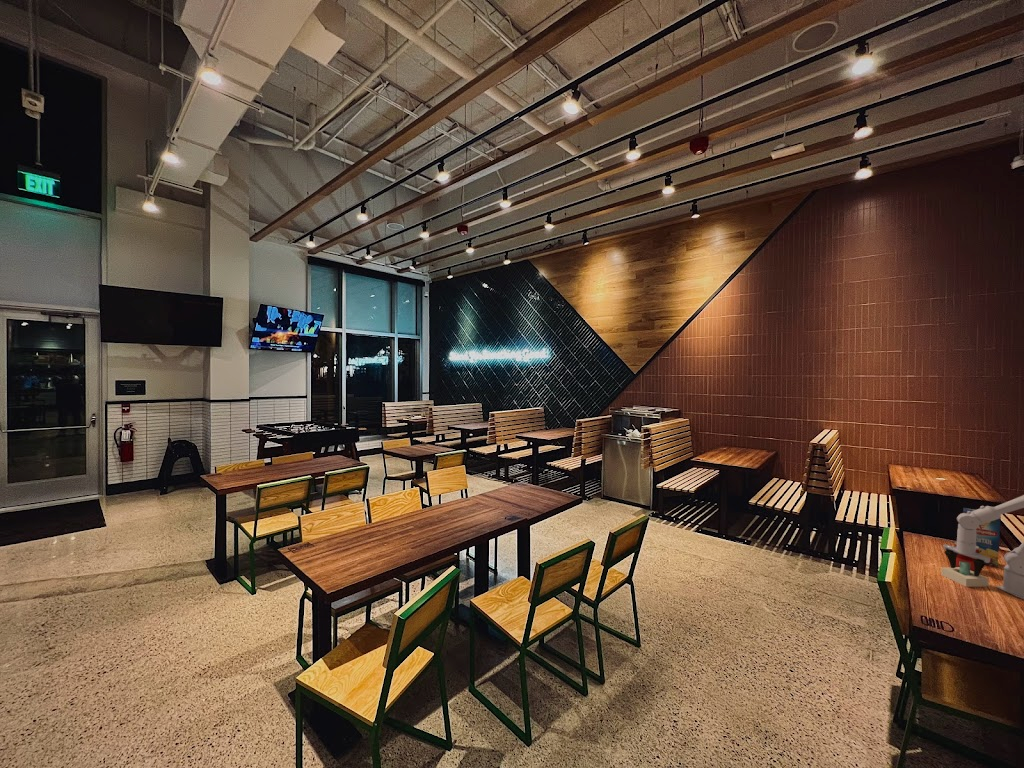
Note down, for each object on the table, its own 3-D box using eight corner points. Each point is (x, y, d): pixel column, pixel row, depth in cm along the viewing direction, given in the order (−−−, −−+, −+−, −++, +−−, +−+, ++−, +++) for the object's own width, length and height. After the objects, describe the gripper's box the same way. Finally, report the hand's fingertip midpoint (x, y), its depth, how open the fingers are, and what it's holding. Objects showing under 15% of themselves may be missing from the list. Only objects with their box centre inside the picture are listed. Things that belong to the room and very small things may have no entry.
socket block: (988, 586, 181) (988, 578, 181) (965, 586, 181) (966, 578, 180) (962, 574, 191) (962, 567, 191) (941, 575, 191) (941, 567, 190)
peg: (971, 582, 184) (972, 564, 184) (964, 582, 184) (965, 564, 184) (963, 578, 187) (964, 561, 187) (956, 578, 187) (957, 561, 187)
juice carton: (960, 559, 206) (963, 511, 204) (960, 554, 211) (963, 507, 209) (997, 568, 197) (1000, 517, 196) (997, 563, 202) (1000, 514, 201)
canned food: (982, 572, 193) (984, 549, 192) (961, 570, 194) (963, 547, 194) (968, 565, 200) (970, 542, 199) (948, 562, 202) (950, 540, 201)
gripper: (994, 546, 179) (993, 577, 180) (950, 533, 193) (948, 562, 194) (985, 549, 177) (983, 580, 178) (940, 535, 191) (939, 565, 191)
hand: (964, 571), depth 186 cm, fingers open, 7 cm apart
